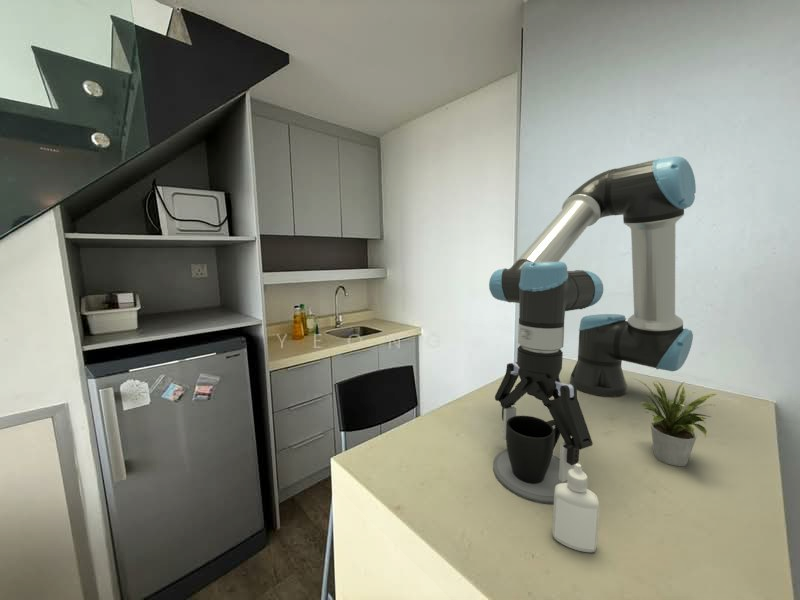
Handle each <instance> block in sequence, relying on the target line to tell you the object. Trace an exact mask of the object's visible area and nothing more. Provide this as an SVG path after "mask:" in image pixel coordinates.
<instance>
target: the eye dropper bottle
mask: <svg viewBox="0 0 800 600" xmlns="http://www.w3.org/2000/svg"><path fill="white" fill-rule="evenodd" d="M587 486H588V475H587V473H586V472H584V471H583V470H582V465H581V464H580V463H577V464H575V465H574V469H570V470H569V471H568V480H567V483H560V484H557V485H556V486H555V493H554V504H553V510H552V512H553V513H552V528H551V529H552V534H551V535H552V537H553V538H554V539H555V540H556V541H557V543H558V542H559V544H561V545H564V546H565V547H567V548H570V549H572V550H575V551H579V552H583V553H594V552H596V550H597V545H598V544H597V542H598V530H599V528H598V527H599V516H600V515H599V513H600V502H599V498H598V496H597V494H595V493H594V492H593V491H592V490H590V489H588V487H587Z"/></svg>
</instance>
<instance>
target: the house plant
mask: <svg viewBox="0 0 800 600" xmlns="http://www.w3.org/2000/svg"><path fill="white" fill-rule="evenodd" d="M631 379H632V380H634V381H635V380H636V381H637V382H639V383H641V384H643V385H644V386H645V387H646V388H648V390H649V391H647V394H648V393H649V394H651V395H652V396H653V397H654V399H653V398H651V396H649V395H647V394H645V396H646V398H648V399H650V400H651V402H652V403H653V404H651V403H649V402H642V403H640V404H639V405H640V406H643V407H644V409H645V410H649V411H652V412H653V413H655V415H654V414H653V413H650V415H651V416H652V417H653V418H652V422H650V427H651V429H650V430H651V437H652V439H651V440H652V447H653V454H654V456H655V457H656V458H657V459H658V460H659V461H662V462H663V463H665V464H668V465H672V466H676V467H685V466H687V464H688V462H689V459H690V456H691V455H692V451H693V449H694V445H695V443H696V440H697V433H695V428H694V427H693V426H695V427H696V429H698V430H699V431H700V432H702V433H703V435H704V436H705V437H707V432H708V431H707V429H706V428H705V427H704V426H703V425H701V424H699V422H704V423H706V421H705V420H707V417H708V418H711V416H709V415H706V414H700V413H692V412H694V411H695V410H697V409H699V408H700V407H705V406H706V404H705V405H702V404H703V403H705V402H706V401H707V400H708V399H709V398H712V397H714V396H716V395H717V393H710V394H706V395H703V396H701V397H698V398H697V399H695V400H694V401H693V400H692V402H691V403H689V404H688V405H687V406H686V405H684V402H685V400H686V397H687V396H689V395H691V394H695V393H696V391H694V392H691V393H687V394H686V390H685V387H684V386H683V385H684V383H685V381H683V382H682V383H681V384H680V385H679V386H678V387H677V390H676V391H675V396H674V398H673V400H670V401H668V398H667V395H666V394H667V393H666V390H665V388H664V386H663V385H662V383H660V381H658V380H656V379H655V381H652V384H653V386H654V388H656V391H657V393H658V395H657V394H655V393H654V392H653V391H652V390H651V388H650V387H649V386H648V385H647V384H646V383H644V382H643V381H642V380H638V379H636V378H633V377H631ZM656 382H657V383H658V384H657V383H656ZM681 387H682V388H681ZM680 389H681V392H680ZM679 392H680V394H679ZM639 395H643V396H644V394H641V393H640V394H639ZM678 396H679V399H678ZM655 400H656V401H657V403H658V404H657V403H656V401H655ZM677 400H678V402H677ZM699 405H700V406H699ZM701 405H702V406H701ZM658 406H659V407H660V408H661V410H662V411H661V410H660V408H659V407H658ZM708 406H711V403H710V404H708ZM714 406H717V405H715V404H714ZM683 407H684V408H685V409H684V410H683V411H682V409H683ZM681 411H682V412H681ZM645 413H647V414H649V412H647V411H645ZM662 413H663V414H662ZM708 420H709V419H708ZM709 421H710V420H709ZM697 422H698V423H697Z"/></svg>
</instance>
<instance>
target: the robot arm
mask: <svg viewBox="0 0 800 600" xmlns="http://www.w3.org/2000/svg"><path fill="white" fill-rule="evenodd" d="M695 179H696V177H695V175H694V170H693V168H692V166H691V164H690V163H689V161H688V160H687V159H686V158H684V157H682V156H670V157H663V158H657V159H652V160H648V161H645V162H639V163H636V164H631V165H627V166H623V167H618V168H612V169H608V170H606V171H603V172H601V173H599V174H597V175H594V176H593V177H591V178H590V179H588V180H587V181H585V182H584V183H583V184H581V185H580V186H579V187H578V188H576V189H575V190H574V191H573V192H572V193H571V194H570V195H569V196H568V197H567V198H566V199H565V201H564V202H563V204H562V206H561V211H560V212H558V214H557V215H556V216H555V217H554V219H552V221H551V222H550V223H549V224H548V225H547V226H546V227H545V229H543V231H542V232H541V233H540V234H539V235H538V236H537V237H536V238H535V240H534V241H533V242H532V243H531V244H529V247H527V249H526V250H524V252H523V253H522V254H521V255H520V257H519V258H518V259H517V260H516V261H515V263H513V265H512V266H511V267H509V268H505V267H504V268H501V269H500V268H499V269H497V270H495V271H494V272H493V273H492V274H491V276H490V278H489V283H488V287H489V291H490V295H491V296H492V297H493V298H494V299H496V300H499V301H503V302H507V303H514V304H519V305H518V306H519V308H518V309H519V311H518V312H519V313H518V315H519V316H518V333H517V334H518V336H517V343H518V345H519V346H518V347H517V352H516V353H517V354H516V355H517V357H516V359H517V360H516V362H510V363H507V364H506V368H505V369H506V370H505V374H504V376H503V379H502V380H501V383H500V385H499V387H498V389H497V391H496V392H495V396H494V399H495V401H496V402H499V403H500V406H501V408H502V409H501V410H502V411H501V419H502V421H503V424H502V439H503V440H504V441H506V424H507V421H508V419H510V418H511V417H514V416H517V407H516V406H514V405H516V403H517V402H518V401H519V400H521V398H522V397H523V396H524V395H525V394H527V395H528V396H531V397H532V396H533V397H534V398H535V399H537V400H539V401H541V402H542V404H543V406H544V407H545V408H546V407H547V409H548V411H549V413H550V415H551V418H552V420H554V421H555V423H556V425H557V427H558V429H559V431H560V433H561V434H560V436H561V437H562V439H563V441H564V442H561V443H560V447H559V448H560V451H559V458H560V465H559V480H561V481H562V482H563V481H566V480H568V471H569V470H570V469H574V467H575V464H579V461H580V450H584V449H586V448H587V449H588V448H589V447H592V446H593V439H592V437H591V435H590V434H591V433H590V431H589V428H588V425H587V423H586V419H585V417H584V413H583V410H582V408H581V404H580V402H579V399H578V391H581V392H583V393H587V394H590V395H594V396H601V397H610V398H613V397H614V398H615V397H621V396H625V395H626V394H627V389H628V388H627V387H628V384H627V382H626V378H625V375H624V371H623V368H622V361H624V362H626V363H632V364H636V365H641V366H645V367H649V368H653V369H656V370H662V371H667V372H676V371H679V370H680V369H681V368H682V367H683V366H684V364H685V362H686V361H687V358H688V356H689V354H690V351H691V348H692V345H693V339H694V334H693V331H692V330H690V329H689V328H684V320H683V319H682V318H681V317H679V316H678V315H677V314H676V223H677V222H679V220H680V219H681V218H682V217H684V216H685V210H686V209H688V208H691V206H692V205H693V204H694V202H695V199H696V192H697V191H696V190H697V189H696V186H697V185H696V180H695ZM620 215H621V216H623V217H622V218H623V219H622V220H623V225H626V226H627V227H628V228H630V232H631V234H630V236H631V238H630V239H631V260H632V261H631V262H632V263H631V264H632V289H633V290H632V293H633V295H632V296H633V314H632V315H631V316H629V317H628V318H626V316H625V315H624V314H618V313H617V314H616V313H613V314H612V313H608V314H607V313H604V314H601V313H600V314H589V315H585V316H583V317H582V318H581V319H580V323H579V327H578V328H579V329H578V347H577V349H578V350H577V351H578V352H577V361H576V364H575V366H574V367H573V370H572V373H570V374H571V375H570V377H569V378H570V379H569V381H570V382H569V383H568V384H567V383H565V382H564V383H563V382H562V381H561V380H560V373H561V372H562V369H563V356H564V355H563V353H564V352H563V351H562V348H563V347H564V340H565V339H564V337H565V317H566V315H565V314H566V312H570V311H577V310H584V309H587V308H589V307H592V306H594V305H596V304H597V303H598V302H599V301H600V300H601V298H602V297H603V294H604V284H603V282H602V279H601V278H600V277H599V276H598V275H597V274H596V273H594V272H593V271H589V270H583V269H576V270H568V266H567V264H566V263H565V262H563V261H561V260H562V258H563V257H564V256H565V254H566V253H567V252H568V251H569V249H570V248H571V247H572V246H573V245H574V244H575V243H576V241H577V240H578V239H579V237H580V236H581V235H582V234H583V233H584V232H585V230H586V229H587V227H590V226H593V225H594V224H596V223H597V222H598V221H599V220H600V219H602V218H606V217H611V216H620ZM518 378H520V381H519V382H518V383H517V384H516V382H517V379H518ZM515 384H516V385H515ZM514 386H515V387H514ZM552 397H553V399H551V398H552Z"/></svg>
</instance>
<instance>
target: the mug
mask: <svg viewBox="0 0 800 600" xmlns="http://www.w3.org/2000/svg"><path fill="white" fill-rule="evenodd" d="M560 436H561V433H560V431H559V429H558V427H557V425H556V423H555V421H554V419H551V420H547V421H546V420H543V419H541V418H539V417H535V416H532V415H531V416H530V415H516V416H514V417H511V418H510V419H508V421H507V424H506V440H505V441H506V449H507V451H508V456H509V460H510V463H511V467H512V471H513V474H514V475H515V476H516V477H517V478H518V479H519V480H521V481H523V482H526V483H530V484H537V483H540V482H542V481H543V480H544V477H545V474H546V472H547V470H548V467H549V465H550V462H551V459H552V455H554V449H555V448H556V445H557V444H558V441H559V439H560Z"/></svg>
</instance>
